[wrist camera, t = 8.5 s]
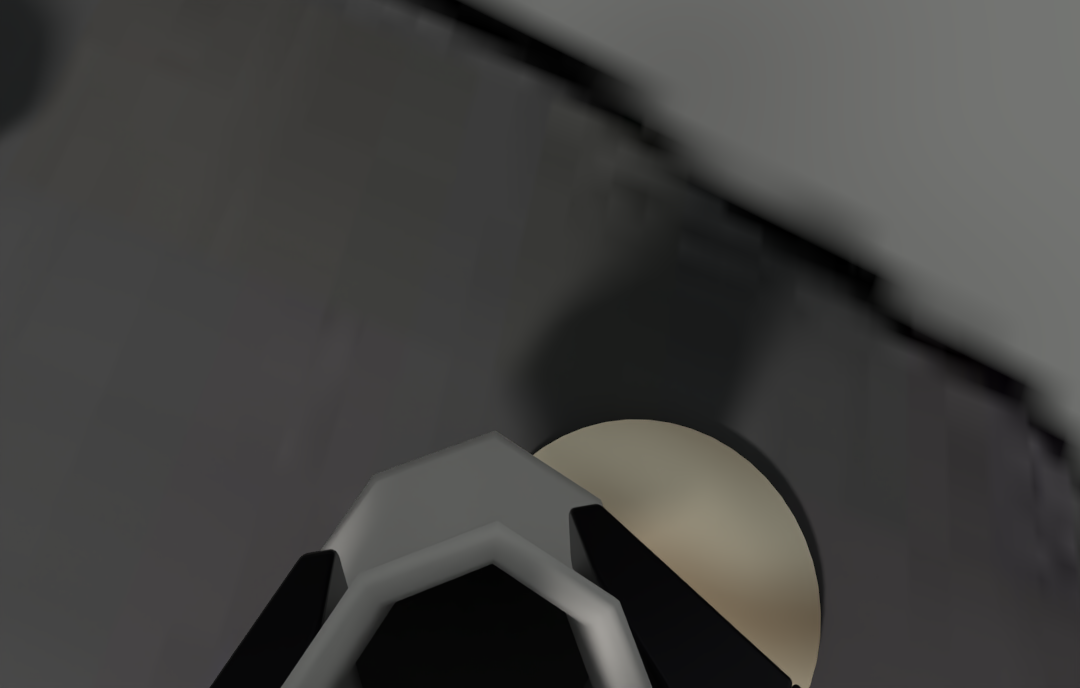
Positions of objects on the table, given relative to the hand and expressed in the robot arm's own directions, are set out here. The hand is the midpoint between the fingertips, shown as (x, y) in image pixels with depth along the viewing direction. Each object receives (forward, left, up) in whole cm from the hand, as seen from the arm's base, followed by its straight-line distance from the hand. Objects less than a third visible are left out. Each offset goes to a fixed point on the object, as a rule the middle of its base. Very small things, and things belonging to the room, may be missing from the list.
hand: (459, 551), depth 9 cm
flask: (-1, 0, -7) cm, 7 cm away
